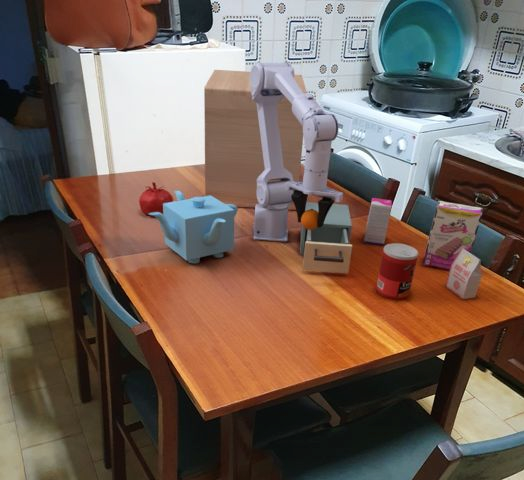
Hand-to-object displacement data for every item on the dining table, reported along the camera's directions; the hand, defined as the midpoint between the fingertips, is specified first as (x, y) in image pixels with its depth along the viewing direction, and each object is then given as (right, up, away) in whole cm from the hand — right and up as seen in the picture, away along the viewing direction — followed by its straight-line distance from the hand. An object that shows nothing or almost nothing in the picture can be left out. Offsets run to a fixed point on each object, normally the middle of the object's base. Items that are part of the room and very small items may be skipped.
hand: (310, 223), depth 137 cm
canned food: (+19, -18, -6) cm, 27 cm away
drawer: (+4, -10, +3) cm, 11 cm away
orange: (0, +1, -1) cm, 1 cm away
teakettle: (-30, -7, +6) cm, 31 cm away
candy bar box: (+36, -10, +8) cm, 38 cm away
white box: (+36, -18, -4) cm, 41 cm away
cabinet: (+5, -2, +16) cm, 16 cm away
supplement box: (+20, 0, +20) cm, 28 cm away
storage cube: (-16, +23, +50) cm, 57 cm away
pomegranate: (-44, +10, +29) cm, 54 cm away
